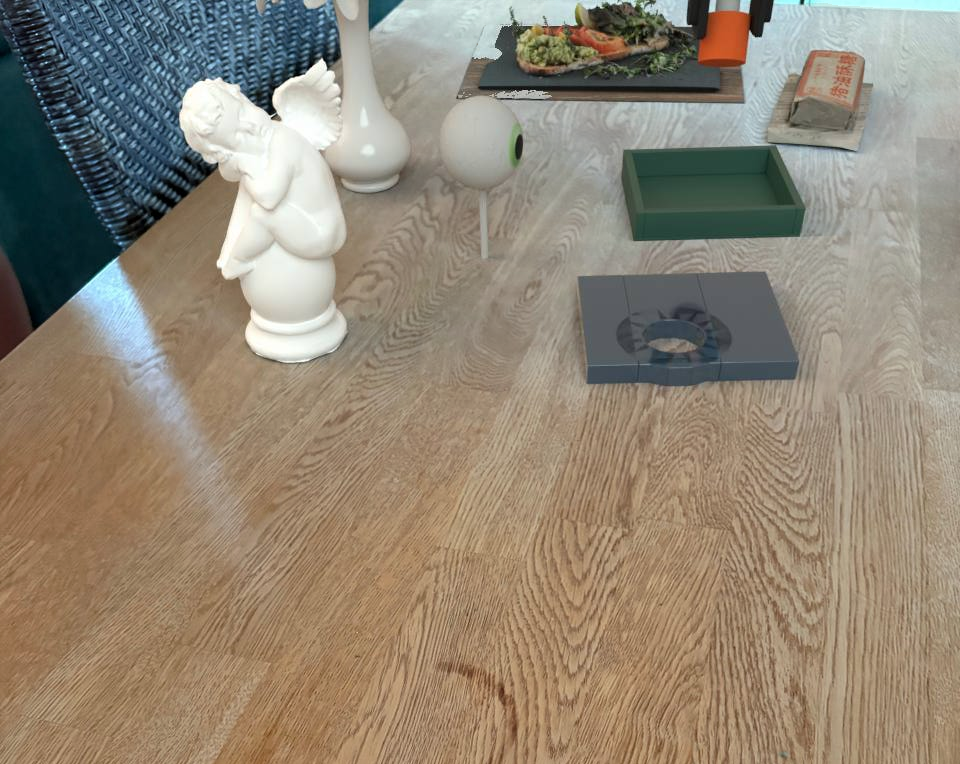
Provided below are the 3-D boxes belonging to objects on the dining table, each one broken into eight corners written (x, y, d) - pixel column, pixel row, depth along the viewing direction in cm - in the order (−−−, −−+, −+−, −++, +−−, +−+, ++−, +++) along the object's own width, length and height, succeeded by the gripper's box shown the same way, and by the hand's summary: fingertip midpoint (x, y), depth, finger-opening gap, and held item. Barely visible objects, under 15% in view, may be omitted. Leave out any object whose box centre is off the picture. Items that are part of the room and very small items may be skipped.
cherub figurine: (217, 355, 86) (147, 70, 70) (275, 284, 94) (224, 14, 78) (352, 373, 83) (312, 81, 67) (400, 298, 91) (374, 22, 75)
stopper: (738, 68, 89) (752, -54, 86) (751, 60, 85) (765, -67, 82) (693, 66, 89) (705, -56, 86) (703, 58, 85) (716, -70, 82)
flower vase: (287, 159, 113) (242, -117, 95) (453, 156, 112) (439, -123, 94) (267, 211, 104) (212, -81, 86) (446, 208, 103) (430, -88, 85)
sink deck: (759, 303, 89) (765, 271, 87) (793, 398, 79) (801, 364, 77) (575, 307, 89) (577, 275, 87) (586, 403, 79) (588, 369, 77)
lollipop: (508, 295, 91) (506, 119, 80) (435, 284, 93) (422, 110, 82) (533, 258, 95) (534, 86, 84) (462, 248, 97) (454, 78, 86)
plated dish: (455, 100, 123) (452, 32, 118) (481, 28, 143) (480, -33, 137) (748, 106, 120) (759, 37, 115) (734, 32, 139) (743, -30, 134)
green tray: (770, 174, 106) (776, 144, 104) (799, 239, 97) (805, 208, 94) (621, 178, 107) (623, 149, 105) (634, 243, 97) (636, 212, 95)
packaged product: (793, 42, 120) (882, 49, 117) (785, 86, 123) (871, 94, 121) (772, 97, 108) (869, 106, 106) (764, 144, 112) (858, 154, 109)
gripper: (868, -266, 75) (816, 16, 88) (639, -256, 75) (622, 23, 89) (897, -252, 70) (837, 44, 83) (652, -242, 70) (631, 52, 83)
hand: (726, 30), depth 86 cm, fingers closed on stopper, 4 cm apart
